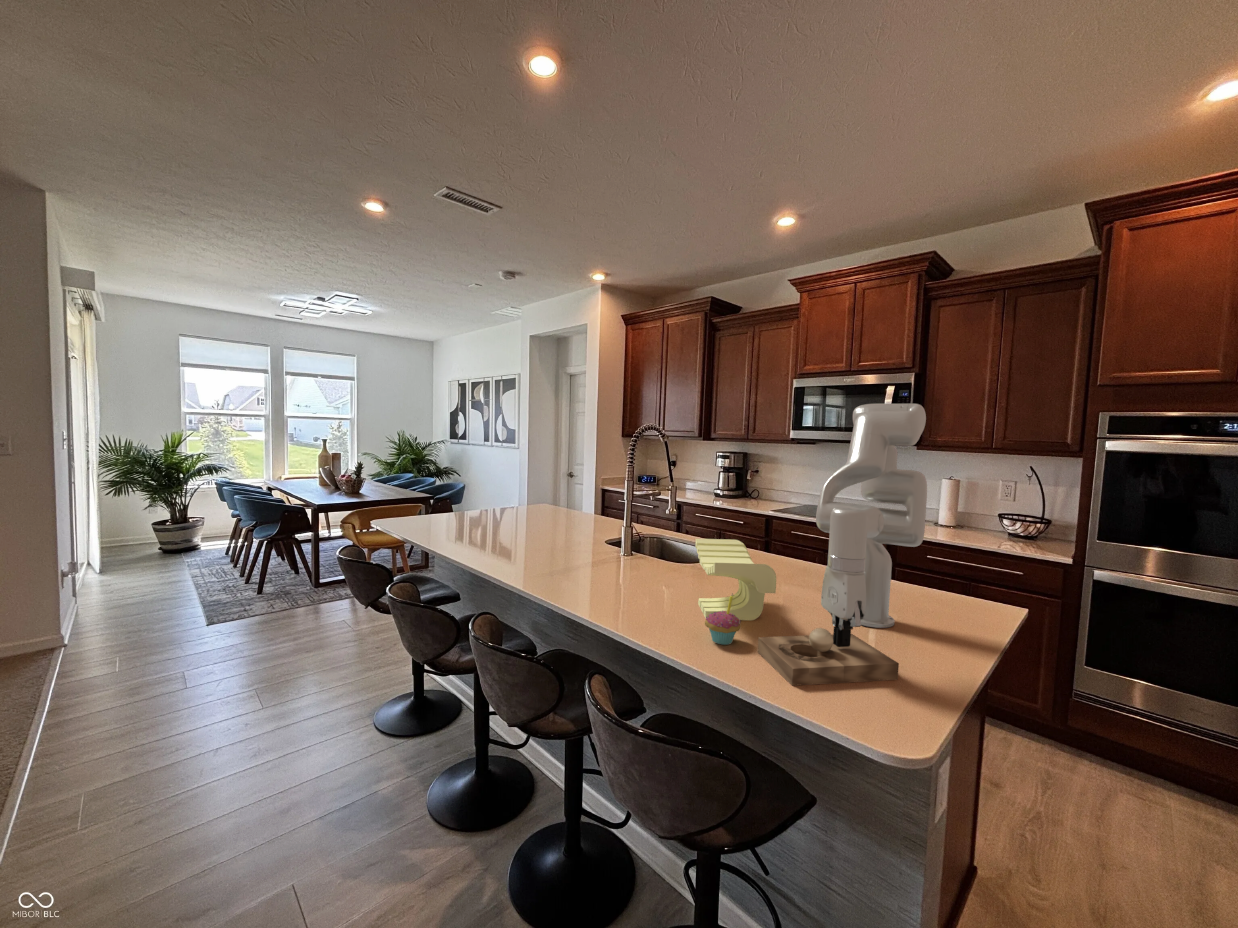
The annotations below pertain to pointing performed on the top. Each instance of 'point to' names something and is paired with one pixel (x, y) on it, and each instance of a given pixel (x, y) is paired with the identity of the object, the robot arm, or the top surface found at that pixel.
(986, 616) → the top surface
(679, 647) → the top surface
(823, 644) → the ball
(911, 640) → the top surface
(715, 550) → the slatted curved stool
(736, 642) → the top surface
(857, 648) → the board
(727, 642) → the cupcake
